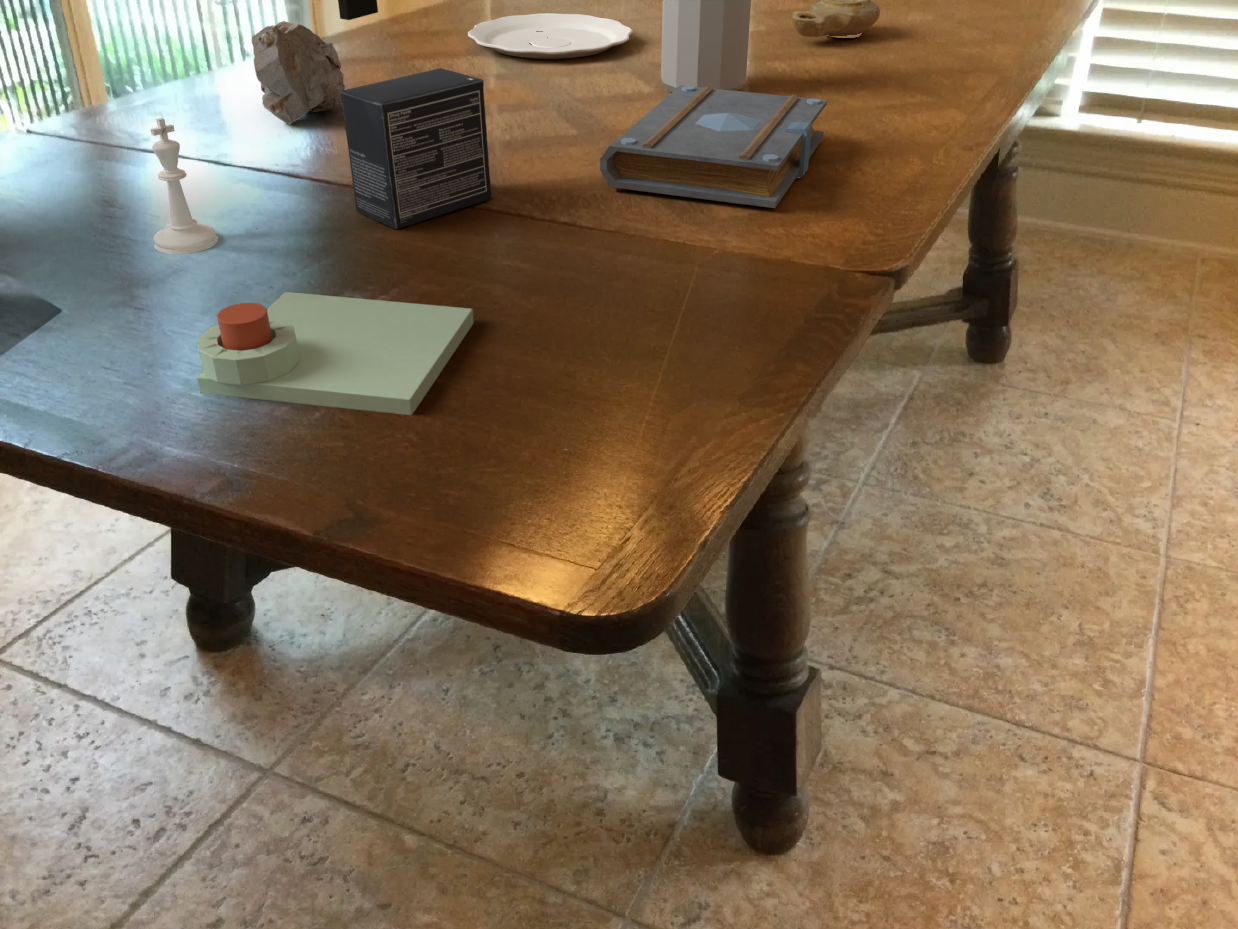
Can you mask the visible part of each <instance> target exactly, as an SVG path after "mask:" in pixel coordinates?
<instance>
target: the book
mask: <svg viewBox="0 0 1238 929" xmlns="http://www.w3.org/2000/svg"><path fill="white" fill-rule="evenodd" d="M827 104H828V100H827V99H822V98H821V99H820V98H816V97H815V98H813V97H812V98H809V97H802V96H801V97H800V96H798V95H796V94H793V95H789V96H788V95H780V94H769V93H759V92H751V91H740V90H739V91H731V90H721V89H713V88H712V87H710V86H708V87H704V88H701V87H693V86H681V85H680V86H678V87H677V88H676V89H675V90H674V91H673V92H672V93H670V92H669V94H668V95H667V96H666V97H665V98H663V99H662V100H661V101H659V102H658V103H657V104H656V105H655V106H654V107H653V108H651V110H649V111H648V112H647V113H646V114H645V115H643V116H642V117H641V118H640V119H639V120H638V121H636V122H635V123H633V125H632V126H631V127H630V128H628V129H627V130H626V131H625V132H624V133H623V134H621V135H620V136H619V137H618V138H616V139H615V140H614V141H613V142H612V143H610V145H609V146H608V147H607V149H606V150H605V151H604V153H603V154H602V156H601V157H600V159H599V171H600V172H601V174H602V176H603V178H604V180H605V181H606V184H607V186H608V187H609V188H614V189H622V190H630V191H638V192H646V193H652V194H653V193H654V194H663V195H670V196H677V197H678V196H679V197H685V198H693V199H700V200H708V201H717V202H724V203H730V204H738V205H748V206H756V207H764V208H771V209H776V208H777V206H778V205H779V203H780V202H781V200H782V199H783V197H784V196H785V194H787V192H788V190H789V189H790V187H791V186H792V185H793V183H794V182H795V180H796V179H797V178H796V177H802V178H803V177H804V176H805V174H806V173H807V171H808V170H809V163H810V158H811V157H812V155H813V153H814V152H815V150H816V149H817V148H818V146H819V145H820V143H821V142H822V141H823V139H824V136H825V135H824V134H825V131H823V130H822V131H821V130H815V129H814V127H813V124H814V122H816V120H817V118H818V117H819V116H820V114H821V113H822V112H823V110H824V109H825V107H826V106H827ZM805 172H806V173H805Z"/></svg>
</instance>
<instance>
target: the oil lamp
mask: <svg viewBox="0 0 1238 929" xmlns="http://www.w3.org/2000/svg"><path fill="white" fill-rule="evenodd" d="M880 14H881V9H880V6H879V5H878V4H877V3H876V2H874V1H872V0H819V1H817V2H816V3H813V4H809V5H808V6H807V9H806V10H804V11H800V10H795V11H792V14H791V15H792V16H791V24H792V26H793V28H794V29H795V31H796V32H797V33H798V34H799V35H801V36H803V37H807V38H820V37H822V36H825V37H826V35H829V36H847V35H857V34H860V33H862V32H863V31H864V32H865V31H867V30H869V29H870V28H871V27H873V26H874V25H875V24H876V22H877V21H878V19H880V16H881V15H880ZM864 32H863V33H864Z"/></svg>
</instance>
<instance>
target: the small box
mask: <svg viewBox="0 0 1238 929" xmlns="http://www.w3.org/2000/svg"><path fill="white" fill-rule="evenodd" d="M484 87H485V82H484V79H482V78H478V77H475V76H471V75H468V74H464V73H460V72H456V71H453V70H449V69H445V68H442V67H439V68H434V69H431V70H427V71H422V72H418V73H413V74H409V75H404V76H399V77H396V78H391V79H387V80H382V81H377V82H374V83H370V84H365V85H361V86H356V87H351V88H347V89H345V90H343V91H340V94H341V101H342V103H341V105H342V113H343V121H344V129H345V135H346V142H347V150H348V157H349V166H350V173H351V180H352V186H353V195H354V202H355V211H356V212H358V213H360V214H362V215H364V216H366V217H368V218H370V219H371V220H375V221H376V222H378V223H380V224H383V225H384V226H387V227H390V228H391V229H394V230H400V229H403V228H405V227H410V226H412V225H414V224H419V223H421V222H424V221H427V220H430V219H433V218H436V217H440V216H443V215H446V214H449V213H452V212H455V211H458V210H462V209H465V208H467V207H472V206H474V205H478V204H480V203H484V202H486V201H490V200H492V199H493V191H492V185H491V173H490V160H489V147H488V133H487V119H486V104H485V92H484Z"/></svg>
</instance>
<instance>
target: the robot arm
mask: <svg viewBox="0 0 1238 929" xmlns="http://www.w3.org/2000/svg"><path fill="white" fill-rule="evenodd" d="M337 3H338V12H339V19H340V20H346V21H351V20H355V19H359V18H362V17H363V18H364V17H367V16H370V15H374V14H377V13H379V8H378V0H337Z"/></svg>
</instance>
